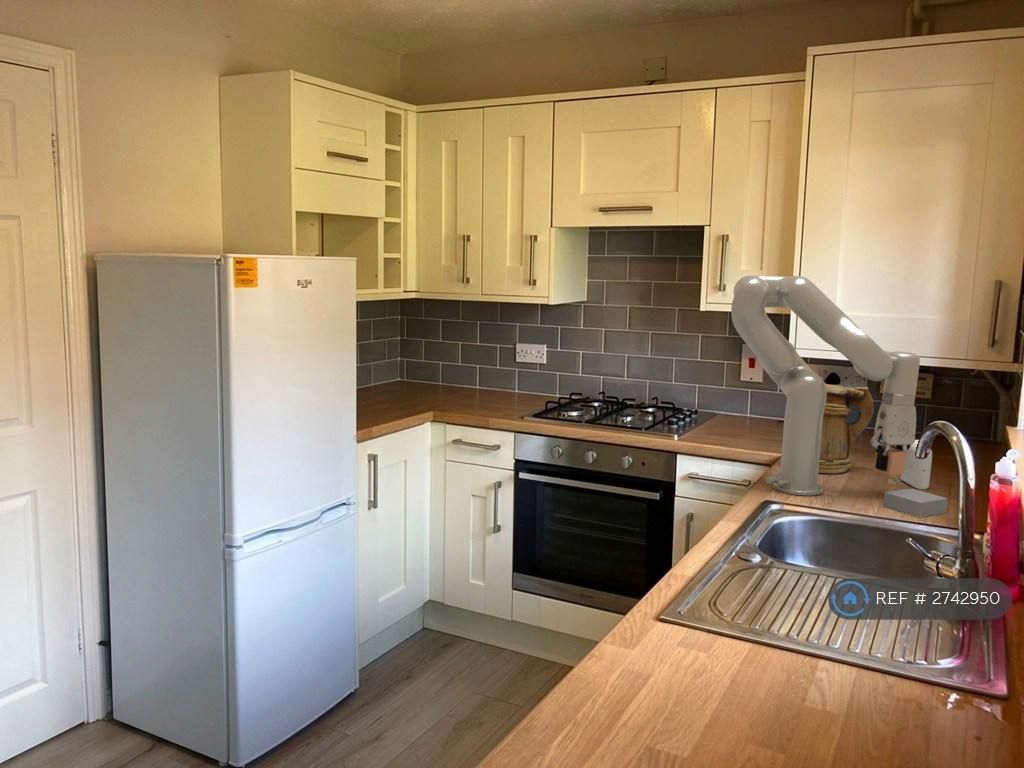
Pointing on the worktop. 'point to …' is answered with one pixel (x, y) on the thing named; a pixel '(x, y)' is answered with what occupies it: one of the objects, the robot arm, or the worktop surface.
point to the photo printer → (917, 469)
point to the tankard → (842, 426)
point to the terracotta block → (894, 462)
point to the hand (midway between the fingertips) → (889, 468)
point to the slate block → (915, 502)
